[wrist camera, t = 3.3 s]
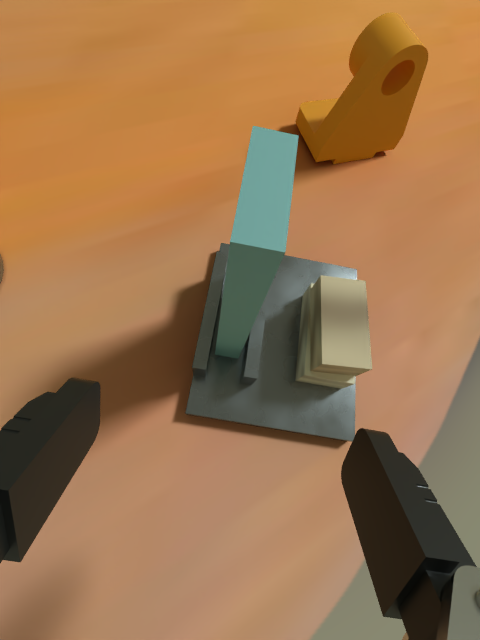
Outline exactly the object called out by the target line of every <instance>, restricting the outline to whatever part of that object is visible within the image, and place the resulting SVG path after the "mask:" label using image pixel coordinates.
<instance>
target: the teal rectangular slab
mask: <svg viewBox="0 0 480 640" xmlns="http://www.w3.org/2000/svg"><path fill="white" fill-rule="evenodd" d="M298 137H299V136H298V135H294V134H289V133H284V132H280V131H275V130H270V129H266V128H261V127H256V126H253V128H252V134H251V139H250V144H249V149H248V154H247V159H246V164H245V169H244V174H243V179H242V184H241V190H240V195H239V200H238V205H237V210H236V215H235V220H234V225H233V230H232V235H231V240H230V247H229V254H228V262H227V269H226V276H225V284H224V291H223V298H222V306H221V313H220V320H219V328H218V335H217V342H216V350H215V355H220V356H226V357H232V358H237V359H238V358H239V356H240V354H241V351H242V349H243V347H244V345H245V342H246V340H247V338H248V336H249V333H250V331H251V329H252V327H253V324H254V322H255V320H256V318H257V315H258V313H259V311H260V308H261V306H262V304H263V302H264V299H265V297H266V295H267V293H268V290H269V288H270V286H271V284H272V281H273V279H274V277H275V274H276V272H277V270H278V268H279V265H280V263H281V261H282V259H283V256H284V254H285V250H286V241H287V233H288V224H289V215H290V207H291V198H292V189H293V181H294V172H295V163H296V154H297V146H298Z"/></svg>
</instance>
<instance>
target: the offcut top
mask: <svg viewBox="0 0 480 640" xmlns="http://www.w3.org/2000/svg"><path fill="white" fill-rule="evenodd" d="M369 370H372V361H371V348H370V335H369V321H368V308H367V295H366V282H365V281H362V280H354V279H346V278H339V277H331V276H323V275H320V277H319V278H318V280H317V281H316V282H315V284H314V285H313V287H312V288H311V289H310V371H314V372H324V373H333V374H342V375H352V376H357V375H359V374H362V373H364V372H367V371H369Z"/></svg>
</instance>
